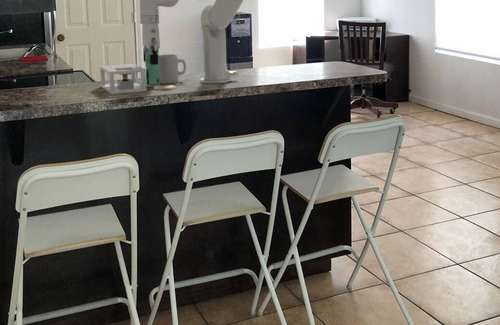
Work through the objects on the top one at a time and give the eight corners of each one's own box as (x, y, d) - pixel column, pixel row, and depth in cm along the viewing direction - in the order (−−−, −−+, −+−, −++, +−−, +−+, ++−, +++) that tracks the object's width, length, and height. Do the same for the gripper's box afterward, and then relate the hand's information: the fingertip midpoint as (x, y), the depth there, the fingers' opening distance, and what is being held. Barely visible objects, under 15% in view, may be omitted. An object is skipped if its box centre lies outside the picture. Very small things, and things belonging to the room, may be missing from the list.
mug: (160, 84, 288) (158, 57, 285) (156, 80, 296) (155, 55, 293) (188, 82, 291) (187, 55, 288) (184, 79, 299) (183, 53, 296)
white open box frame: (135, 84, 288) (133, 63, 286) (146, 90, 272) (145, 69, 270) (101, 87, 283) (99, 66, 280) (111, 94, 267) (109, 71, 264)
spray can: (160, 84, 287) (158, 35, 282) (159, 86, 282) (157, 36, 276) (147, 84, 287) (144, 35, 281) (145, 86, 282) (143, 36, 276)
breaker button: (130, 80, 276) (129, 70, 275) (133, 82, 271) (132, 72, 270) (117, 81, 274) (116, 71, 273) (120, 83, 270) (119, 73, 269)
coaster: (171, 85, 283) (171, 84, 283) (178, 89, 275) (178, 87, 275) (150, 87, 279) (150, 86, 279) (156, 91, 271) (156, 89, 271)
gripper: (164, 21, 271) (166, 65, 276) (152, 18, 286) (154, 60, 291) (146, 21, 268) (147, 66, 273) (134, 18, 283) (136, 60, 288)
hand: (150, 62), depth 282 cm, fingers open, 9 cm apart
